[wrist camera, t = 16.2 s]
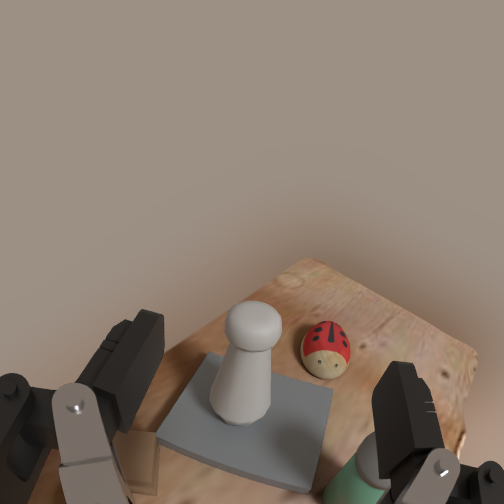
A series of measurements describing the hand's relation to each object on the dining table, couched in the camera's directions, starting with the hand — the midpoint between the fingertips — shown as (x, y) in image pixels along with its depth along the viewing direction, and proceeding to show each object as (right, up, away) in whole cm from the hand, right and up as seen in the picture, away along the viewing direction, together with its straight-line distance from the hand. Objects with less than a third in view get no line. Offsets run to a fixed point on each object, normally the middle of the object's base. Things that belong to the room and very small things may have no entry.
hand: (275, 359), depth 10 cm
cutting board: (-1, -14, +19) cm, 24 cm away
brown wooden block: (-12, -16, +12) cm, 24 cm away
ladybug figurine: (+9, -10, +30) cm, 33 cm away
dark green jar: (+8, -19, +12) cm, 24 cm away
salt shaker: (-2, -12, +19) cm, 23 cm away
